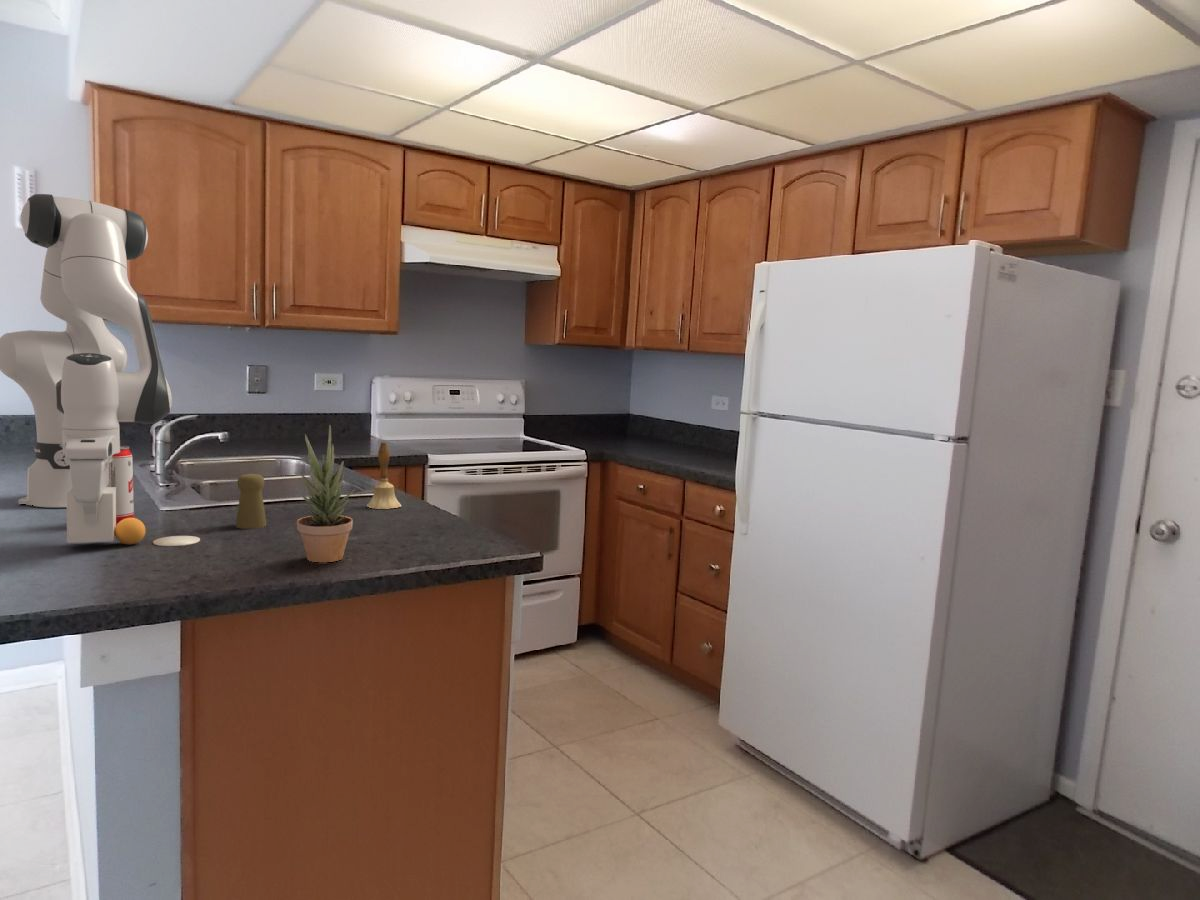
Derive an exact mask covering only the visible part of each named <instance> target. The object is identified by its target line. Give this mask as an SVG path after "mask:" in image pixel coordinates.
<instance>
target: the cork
mask: <svg viewBox="0 0 1200 900" xmlns="http://www.w3.org/2000/svg"><path fill="white" fill-rule="evenodd" d="M237 487H238V489H239V490H240V492H239V493H240V494H239V499H238V507H237V515H236V523H235V527H236V528H237V529H244V530H245V529H247V530H249V529H250V530H252V529H253V530H254V529H261V527H262V528H265V527H266V525H267V519H266V512H265V505H264V498H263V492H262V490H263V488H264V487H265V478H264V477H263V476H262V475H261V474H259V473H258V474H257V473H247V474H246V473H245V474H242V475H239V477H238V479H237ZM264 526H265V527H264Z"/></svg>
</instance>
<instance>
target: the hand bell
mask: <svg viewBox="0 0 1200 900" xmlns="http://www.w3.org/2000/svg"><path fill="white" fill-rule="evenodd" d="M387 443H388V442H387V441H381V442H380V446H379V450H378V452H377V454H378V455H377V456H378V457H377V458H378V463H379V467H380V481H379V483H377V484H375V486H374V491H373V495H372V497H371V499H370V501H369V502H367V504H366V506H367V507H369V508H375V509H390V508H398V507H402V504H401V502H400V501H398V499H397V496H396V494H395V487H394V485H393V484H392V483H391V482H389V478H388V466H389V462H390V449H389V446H388V444H387ZM367 507H366V508H367ZM369 508H368V509H369ZM398 509H399V508H398Z"/></svg>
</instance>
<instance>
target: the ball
mask: <svg viewBox="0 0 1200 900" xmlns="http://www.w3.org/2000/svg"><path fill="white" fill-rule="evenodd" d="M145 535H146V526H145V524H144V522H142V520H140V519H138V518H136V517H134V518H126V519H123V520H121V521H120V522H119V523H118V524H117V525H116V527H115V538H116V540H117V541H118V542H119V543H122V544H124V545H135V544H137V543H139V542H141V541H142V540H143V539H144V538H145Z"/></svg>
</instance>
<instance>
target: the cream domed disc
mask: <svg viewBox="0 0 1200 900" xmlns="http://www.w3.org/2000/svg"><path fill="white" fill-rule="evenodd" d="M199 542H201V538H200V537H198V536H193V535H172V536H164V537H159V538H157V539H154V540H153V541H152V543H153V545H154V546H159V547H183V546H190V545H194V544H197V543H199Z"/></svg>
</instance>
